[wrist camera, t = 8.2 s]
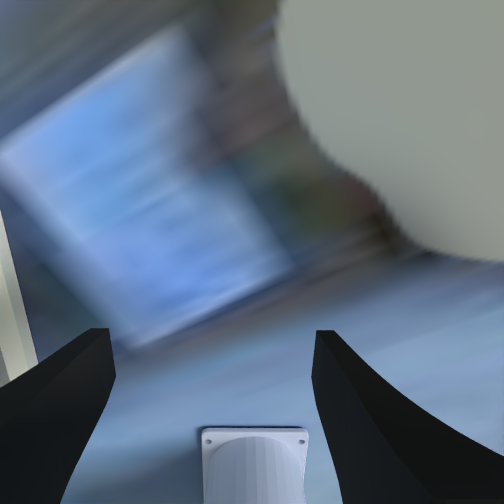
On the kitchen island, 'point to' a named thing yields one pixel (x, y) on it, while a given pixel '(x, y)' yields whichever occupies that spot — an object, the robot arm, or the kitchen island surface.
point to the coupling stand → (12, 320)
